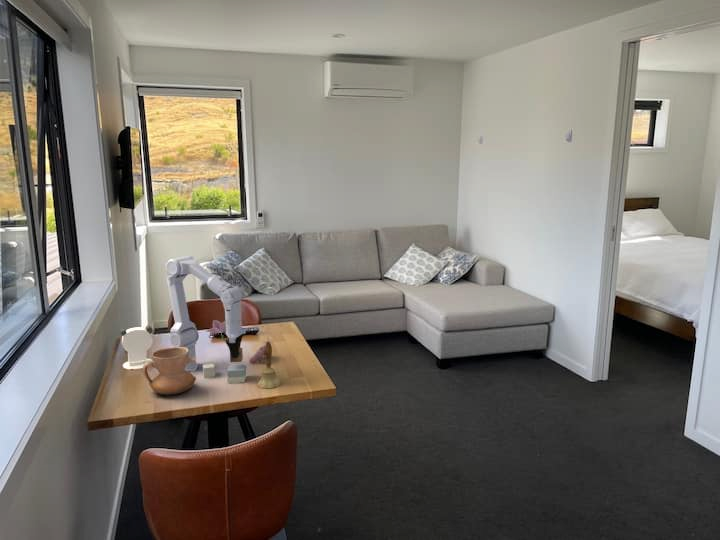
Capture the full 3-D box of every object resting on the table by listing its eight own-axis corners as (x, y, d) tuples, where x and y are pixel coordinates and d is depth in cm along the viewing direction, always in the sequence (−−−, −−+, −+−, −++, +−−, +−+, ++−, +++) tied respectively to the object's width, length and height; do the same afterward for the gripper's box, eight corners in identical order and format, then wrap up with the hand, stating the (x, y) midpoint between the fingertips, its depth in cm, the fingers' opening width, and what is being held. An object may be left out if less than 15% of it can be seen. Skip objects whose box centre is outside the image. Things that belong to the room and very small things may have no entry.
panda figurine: (153, 357, 223) (150, 322, 220) (157, 365, 213) (153, 329, 210) (121, 362, 218) (118, 326, 215) (124, 371, 208) (120, 334, 205)
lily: (237, 337, 252) (230, 318, 253) (234, 335, 240) (227, 315, 242) (213, 347, 250) (206, 327, 251) (208, 345, 238) (201, 325, 240)
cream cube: (204, 378, 201) (203, 368, 200) (203, 374, 204) (202, 364, 203) (215, 377, 202) (214, 366, 201) (214, 373, 206) (213, 363, 205)
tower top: (227, 377, 196) (227, 370, 195) (229, 371, 201) (229, 365, 201) (244, 376, 196) (244, 370, 196) (246, 370, 202) (245, 364, 202)
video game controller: (257, 368, 214) (264, 353, 212) (247, 362, 215) (254, 348, 213) (266, 359, 224) (273, 345, 222) (257, 354, 224) (263, 340, 222)
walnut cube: (230, 362, 196) (229, 351, 196) (231, 358, 200) (231, 348, 200) (241, 361, 197) (241, 351, 196) (242, 357, 201) (242, 347, 200)
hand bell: (266, 378, 200) (264, 337, 197) (285, 381, 197) (283, 340, 194) (252, 386, 193) (250, 344, 190) (272, 390, 189) (270, 347, 186)
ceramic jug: (200, 380, 199) (197, 343, 196) (196, 395, 185) (192, 356, 182) (149, 385, 196) (145, 347, 193) (141, 401, 182) (136, 361, 179)
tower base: (227, 384, 196) (227, 377, 196) (230, 377, 202) (229, 371, 201) (244, 383, 197) (243, 377, 196) (246, 377, 202) (245, 370, 202)
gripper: (242, 325, 189) (244, 361, 192) (246, 314, 203) (248, 348, 206) (222, 326, 188) (224, 362, 191) (227, 314, 202) (229, 349, 205)
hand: (235, 355), depth 198 cm, fingers closed on walnut cube, 4 cm apart
